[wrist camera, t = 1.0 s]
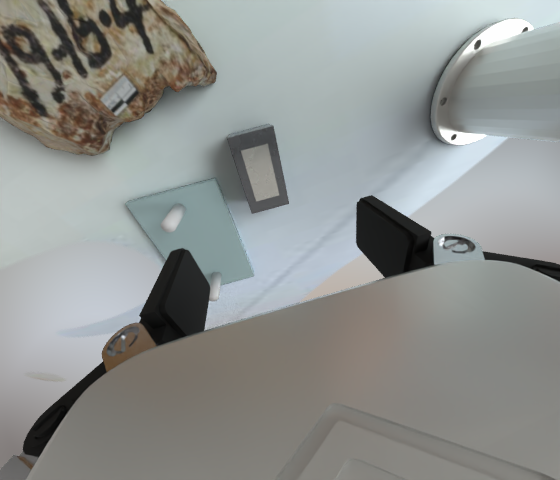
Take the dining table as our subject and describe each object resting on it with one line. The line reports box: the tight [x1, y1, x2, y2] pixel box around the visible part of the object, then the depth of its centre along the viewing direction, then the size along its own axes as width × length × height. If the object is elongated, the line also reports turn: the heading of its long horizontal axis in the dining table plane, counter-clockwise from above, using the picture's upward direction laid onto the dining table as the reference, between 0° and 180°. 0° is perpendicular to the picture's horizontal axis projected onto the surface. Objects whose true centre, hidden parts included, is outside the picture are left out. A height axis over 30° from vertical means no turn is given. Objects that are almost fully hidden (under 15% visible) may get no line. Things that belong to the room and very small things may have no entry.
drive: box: [227, 124, 289, 214], centre depth 25 cm, size 5×9×5 cm, turn 13°
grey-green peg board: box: [126, 178, 254, 301], centre depth 29 cm, size 12×18×6 cm, turn 13°
